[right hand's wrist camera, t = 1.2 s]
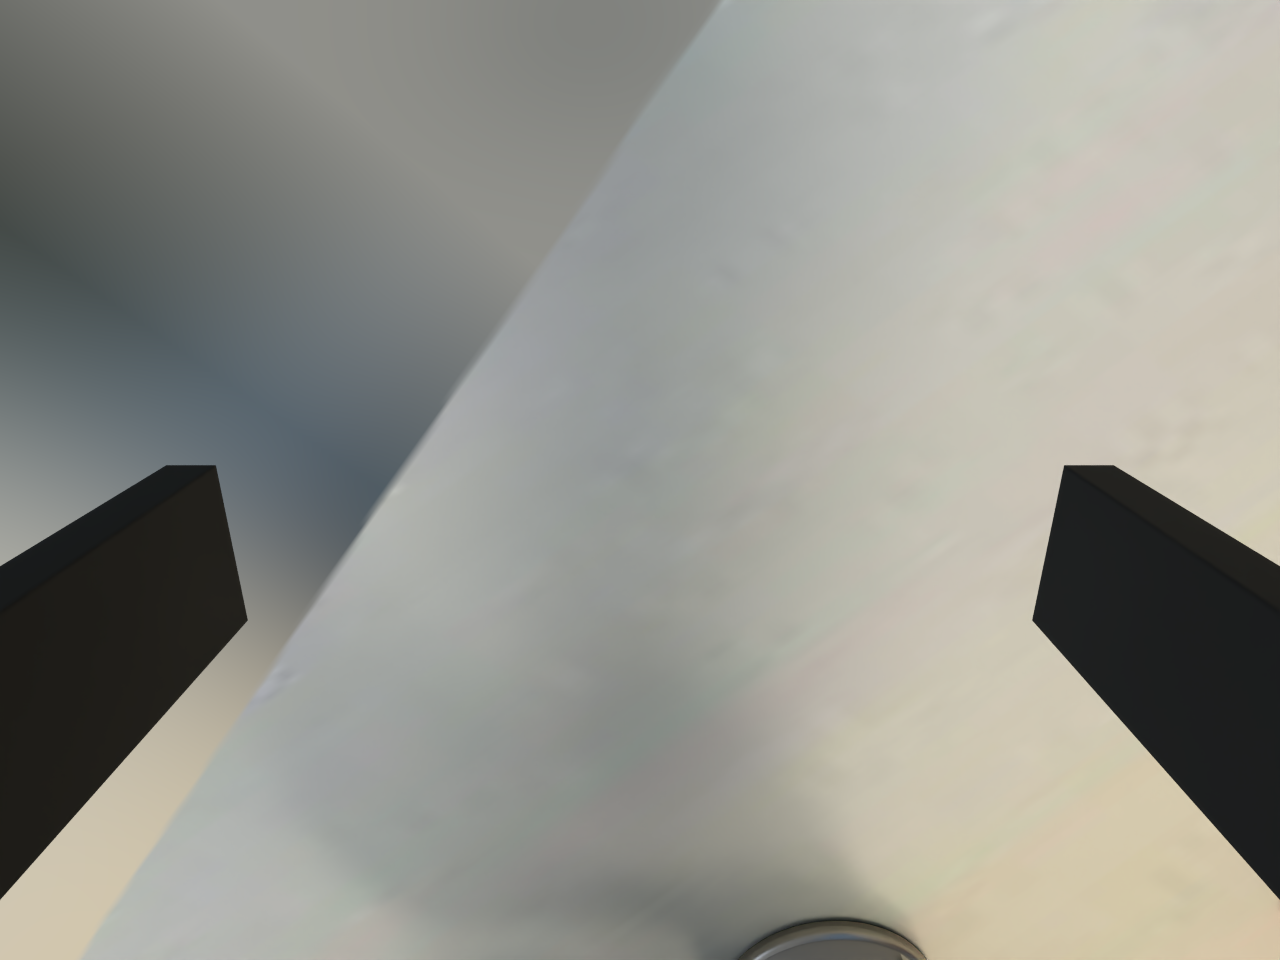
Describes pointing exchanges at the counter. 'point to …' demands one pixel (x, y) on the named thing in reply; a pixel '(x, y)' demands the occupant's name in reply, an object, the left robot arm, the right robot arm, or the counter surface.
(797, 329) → the counter surface
